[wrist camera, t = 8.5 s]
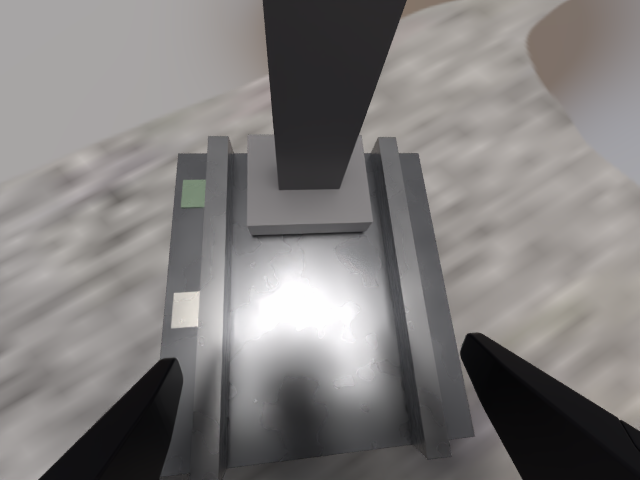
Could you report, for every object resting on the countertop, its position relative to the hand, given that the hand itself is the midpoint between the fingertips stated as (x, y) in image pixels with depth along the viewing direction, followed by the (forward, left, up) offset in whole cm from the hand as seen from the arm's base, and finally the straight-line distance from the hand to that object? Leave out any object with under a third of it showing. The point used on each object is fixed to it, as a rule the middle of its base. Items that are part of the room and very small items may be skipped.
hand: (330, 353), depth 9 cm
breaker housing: (+3, +1, -7) cm, 7 cm away
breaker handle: (+8, +2, -5) cm, 9 cm away
